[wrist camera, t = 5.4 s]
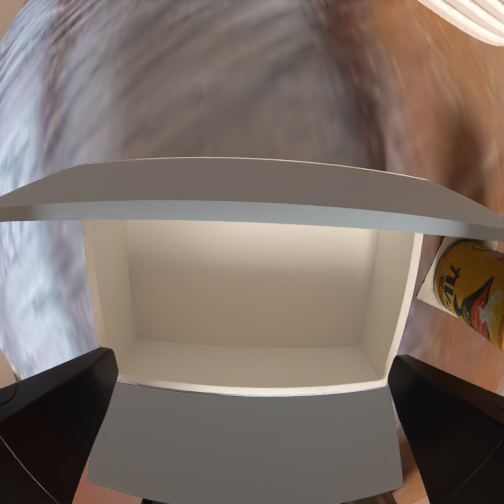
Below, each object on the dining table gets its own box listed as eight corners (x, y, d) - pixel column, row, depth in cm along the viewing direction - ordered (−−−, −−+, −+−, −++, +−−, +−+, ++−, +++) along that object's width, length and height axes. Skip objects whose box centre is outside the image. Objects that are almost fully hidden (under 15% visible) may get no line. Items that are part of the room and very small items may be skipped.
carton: (361, 347, 20) (385, 385, 15) (133, 340, 20) (108, 378, 15) (387, 179, 17) (428, 179, 12) (121, 167, 17) (82, 163, 12)
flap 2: (388, 387, 15) (385, 389, 15) (105, 379, 14) (108, 381, 14) (403, 486, 9) (399, 487, 10) (86, 480, 9) (89, 481, 9)
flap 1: (80, 172, 11) (79, 164, 11) (430, 188, 12) (432, 181, 12) (-25, 222, 5) (-27, 211, 5) (529, 245, 6) (532, 234, 5)
